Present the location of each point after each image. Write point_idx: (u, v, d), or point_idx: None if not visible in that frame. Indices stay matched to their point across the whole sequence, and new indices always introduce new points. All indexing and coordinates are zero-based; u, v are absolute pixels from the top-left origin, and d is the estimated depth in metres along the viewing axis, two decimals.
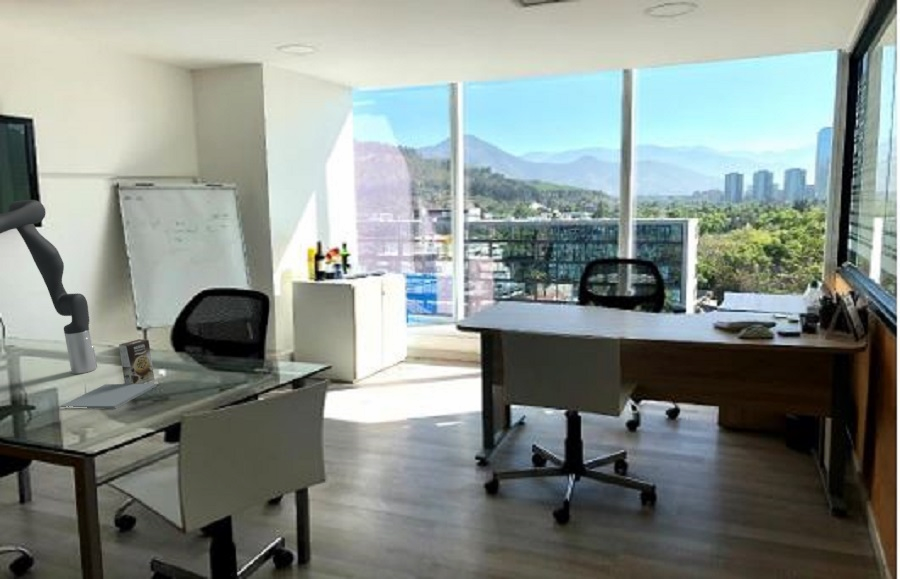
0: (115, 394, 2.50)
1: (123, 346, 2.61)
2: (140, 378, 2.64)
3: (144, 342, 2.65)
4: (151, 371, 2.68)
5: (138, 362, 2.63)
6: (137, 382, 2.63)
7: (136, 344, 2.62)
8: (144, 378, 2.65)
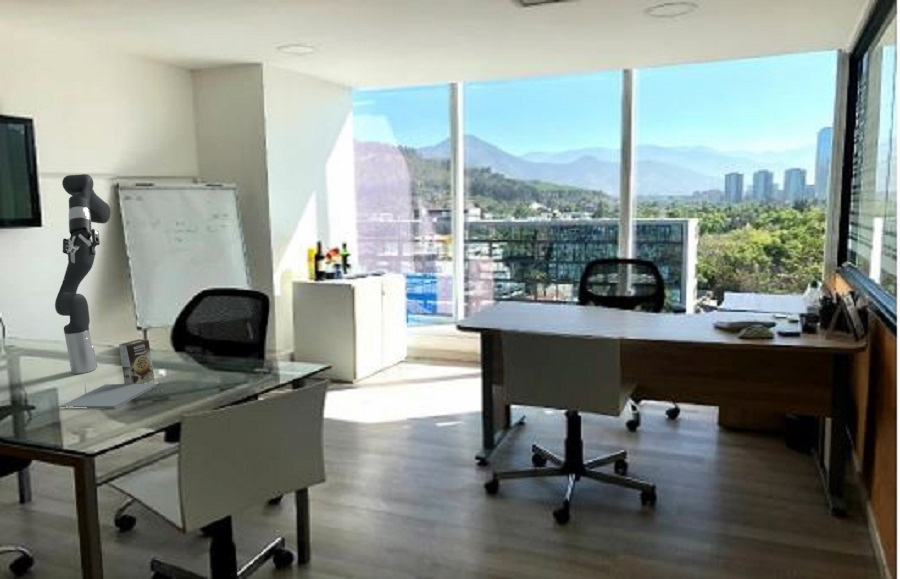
0: (115, 394, 2.50)
1: (123, 346, 2.61)
2: (140, 378, 2.64)
3: (144, 342, 2.65)
4: (151, 371, 2.68)
5: (138, 362, 2.63)
6: (137, 382, 2.63)
7: (136, 344, 2.62)
8: (144, 378, 2.65)
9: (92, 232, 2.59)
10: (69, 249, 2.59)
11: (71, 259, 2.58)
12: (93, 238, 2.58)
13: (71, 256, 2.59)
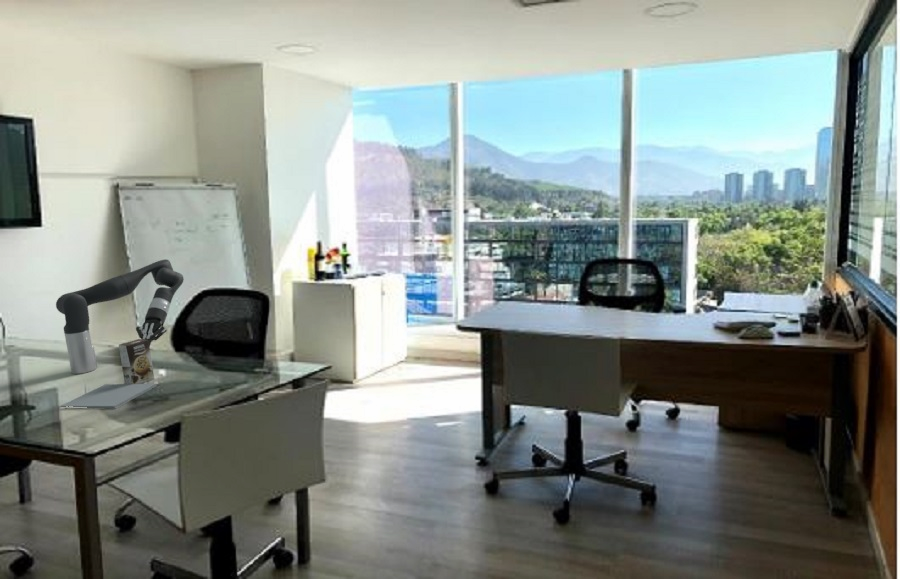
0: (115, 394, 2.50)
1: (123, 346, 2.61)
2: (140, 378, 2.64)
3: (144, 341, 2.65)
4: (151, 371, 2.68)
5: (138, 362, 2.62)
6: (137, 382, 2.63)
7: (136, 344, 2.62)
8: (144, 378, 2.65)
9: (160, 329, 2.72)
10: (146, 336, 2.71)
11: None
12: (155, 333, 2.71)
13: None
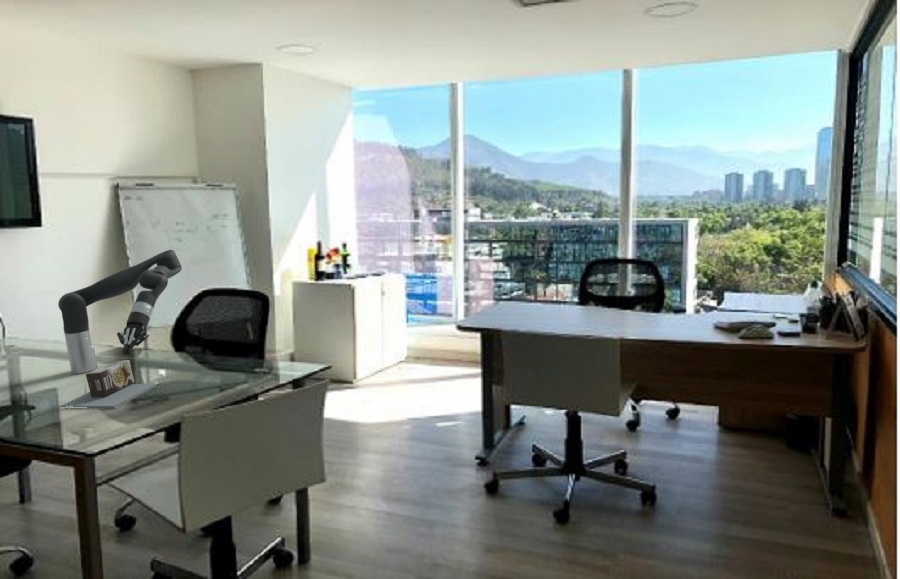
0: (115, 394, 2.50)
1: (99, 396, 2.48)
2: (129, 376, 2.59)
3: (101, 377, 2.46)
4: (123, 365, 2.57)
5: (117, 382, 2.53)
6: (132, 379, 2.61)
7: (104, 387, 2.46)
8: (129, 371, 2.60)
9: (142, 334, 2.61)
10: (127, 341, 2.61)
11: None
12: (136, 339, 2.61)
13: None
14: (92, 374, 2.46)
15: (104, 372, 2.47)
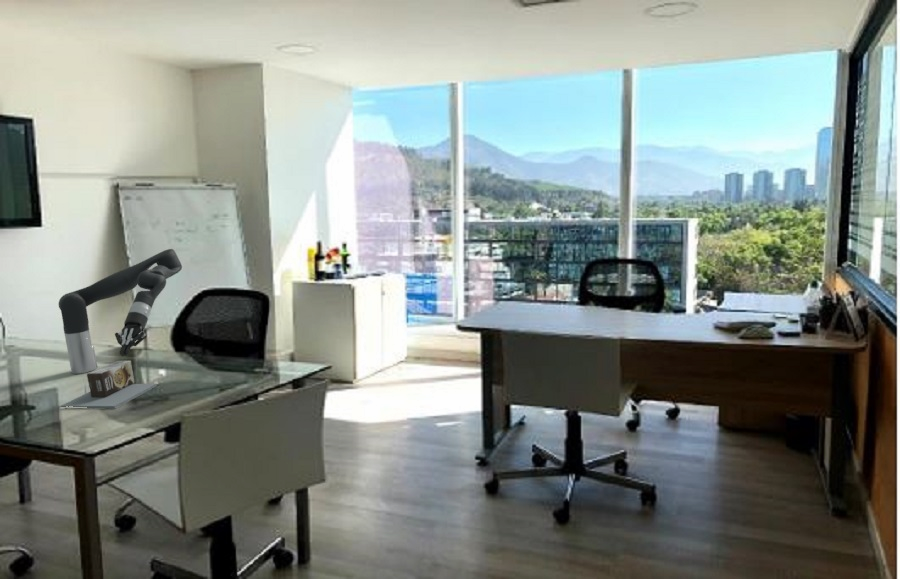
0: (115, 394, 2.50)
1: (99, 396, 2.48)
2: (129, 377, 2.59)
3: (102, 378, 2.46)
4: (125, 365, 2.57)
5: (118, 383, 2.53)
6: (132, 380, 2.61)
7: (104, 387, 2.46)
8: (130, 372, 2.60)
9: (140, 334, 2.60)
10: (125, 341, 2.60)
11: None
12: (134, 339, 2.60)
13: None
14: (93, 374, 2.46)
15: (105, 373, 2.47)
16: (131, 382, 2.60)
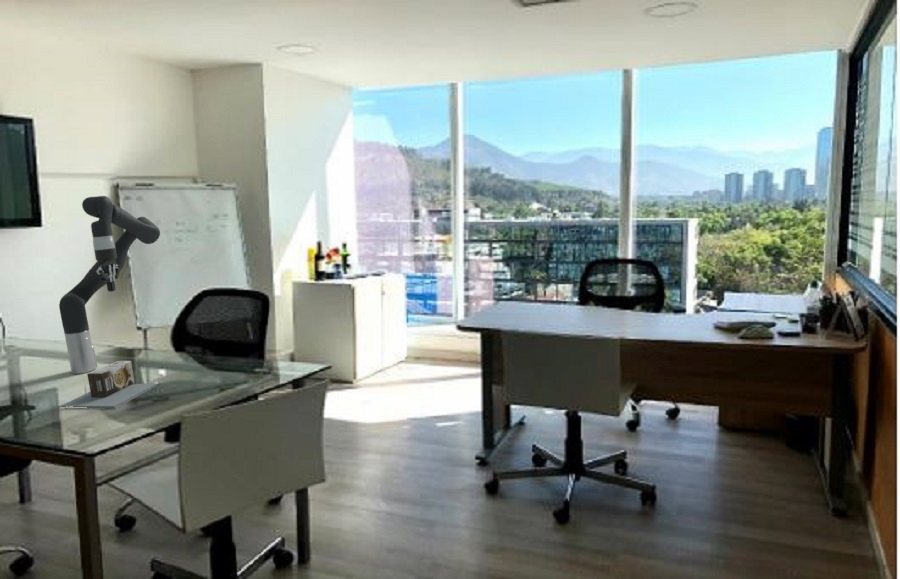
0: (115, 394, 2.50)
1: (99, 396, 2.48)
2: (129, 377, 2.59)
3: (103, 378, 2.46)
4: (125, 365, 2.57)
5: (118, 383, 2.53)
6: (132, 380, 2.61)
7: (105, 388, 2.46)
8: (130, 372, 2.60)
9: None
10: None
11: None
12: None
13: None
14: (94, 374, 2.46)
15: (106, 373, 2.47)
16: (131, 382, 2.60)
